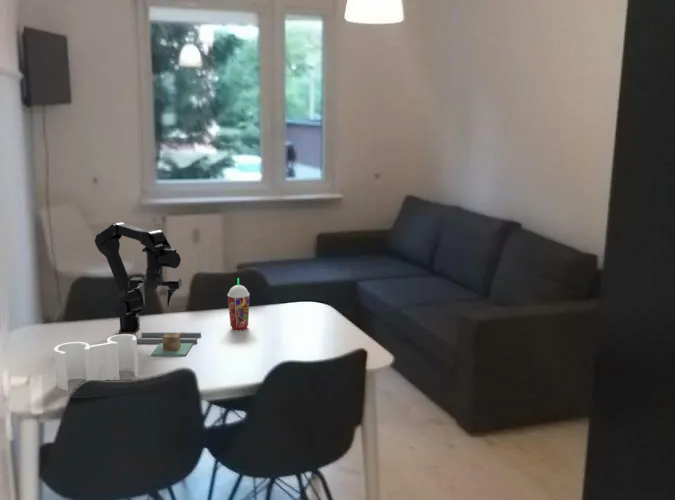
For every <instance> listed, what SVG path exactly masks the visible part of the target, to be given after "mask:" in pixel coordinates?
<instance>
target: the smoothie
mask: <svg viewBox="0 0 675 500" xmlns="http://www.w3.org/2000/svg"><path fill="white" fill-rule="evenodd" d="M236 279H237V284H236V285H234V286H232V287H231V288H229V291H228V293H227V302H228V313H229V321H230V322H229V324H230V328H231V329H232V330H233V331H236V330H237V331H239V332H240V330H241V331H244V330H246V329H248V326H249V316H250V315H249V313H250V292H249V291H248V289H247V288H246V287H245V286H244V285H242V284H240V278H239V277H238V278H236Z"/></svg>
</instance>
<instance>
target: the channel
mask: <svg viewBox="0 0 675 500" xmlns="http://www.w3.org/2000/svg"><path fill="white" fill-rule="evenodd" d="M166 333H180V342H181V343H193V344H198V338H201V337H202V332H200V331H199V332H197V331H196V332H194V331H190V332H189V331H188V332H186V331H185V332H184V331H183V332H181V331H179V332H177V331H173V332H171V331H169V332H166V331H165V332H162V331H159V332H158V331H144V332H143V331H142V332H141V338H139V337H138V338H137V337H136V339H137V344H159V343H163V336H164V335H165V334H166Z"/></svg>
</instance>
